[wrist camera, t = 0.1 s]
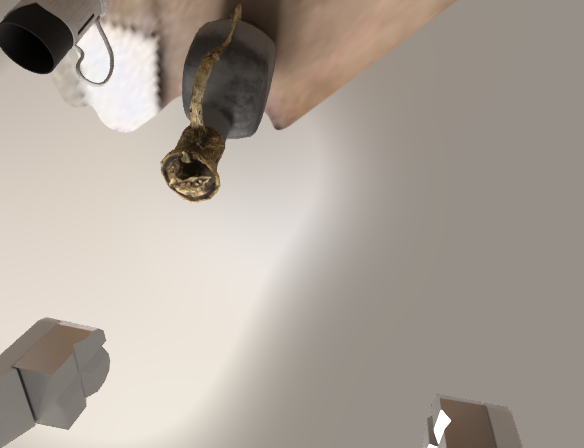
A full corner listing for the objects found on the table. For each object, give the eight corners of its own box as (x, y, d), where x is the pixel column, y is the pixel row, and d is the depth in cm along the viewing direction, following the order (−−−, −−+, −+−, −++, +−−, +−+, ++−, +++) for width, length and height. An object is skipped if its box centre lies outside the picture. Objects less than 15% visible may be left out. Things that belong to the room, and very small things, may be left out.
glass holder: (58, -55, 58) (-5, 2, 50) (149, 20, 65) (107, 81, 57) (42, -12, 64) (-16, 46, 56) (127, 52, 71) (86, 112, 63)
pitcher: (212, 75, 71) (143, 218, 55) (213, -42, 55) (117, 110, 39) (274, 92, 72) (224, 239, 55) (293, -19, 56) (231, 141, 39)
